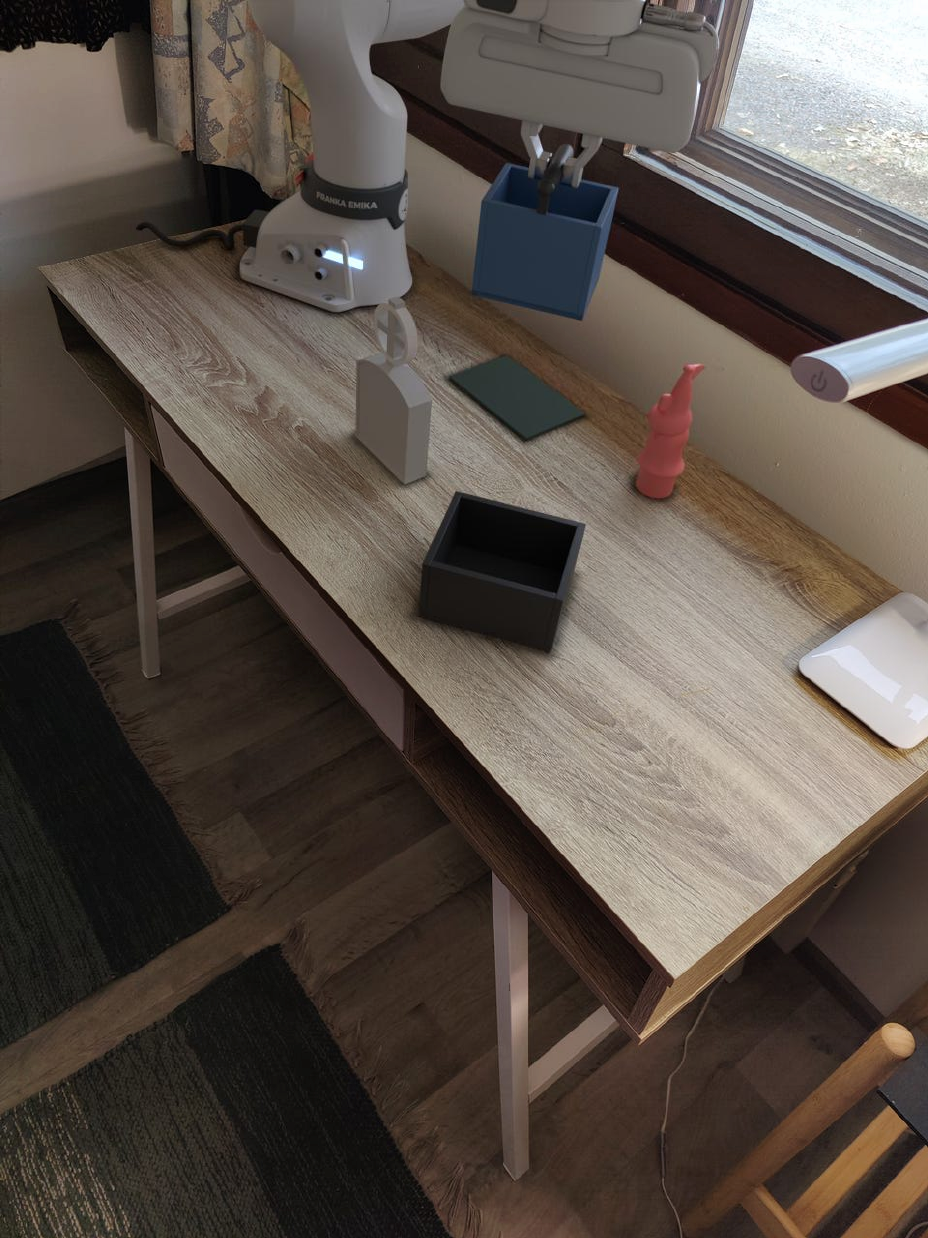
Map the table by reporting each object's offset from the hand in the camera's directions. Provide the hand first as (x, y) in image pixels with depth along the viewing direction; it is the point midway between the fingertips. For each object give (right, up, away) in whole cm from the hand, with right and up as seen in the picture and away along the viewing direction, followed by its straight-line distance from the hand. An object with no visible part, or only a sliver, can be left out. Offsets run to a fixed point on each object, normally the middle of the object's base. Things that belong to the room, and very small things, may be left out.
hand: (553, 180), depth 80 cm
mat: (-2, -11, +31) cm, 33 cm away
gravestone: (-15, -20, +22) cm, 33 cm away
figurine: (+13, -23, +23) cm, 34 cm away
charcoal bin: (-4, -35, +9) cm, 36 cm away
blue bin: (-1, -6, +7) cm, 10 cm away
